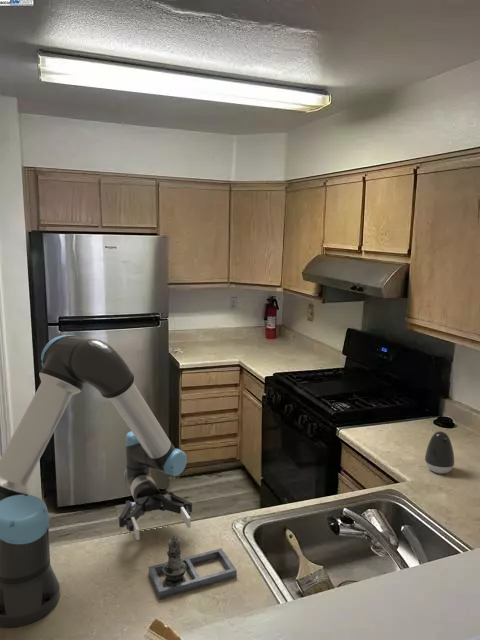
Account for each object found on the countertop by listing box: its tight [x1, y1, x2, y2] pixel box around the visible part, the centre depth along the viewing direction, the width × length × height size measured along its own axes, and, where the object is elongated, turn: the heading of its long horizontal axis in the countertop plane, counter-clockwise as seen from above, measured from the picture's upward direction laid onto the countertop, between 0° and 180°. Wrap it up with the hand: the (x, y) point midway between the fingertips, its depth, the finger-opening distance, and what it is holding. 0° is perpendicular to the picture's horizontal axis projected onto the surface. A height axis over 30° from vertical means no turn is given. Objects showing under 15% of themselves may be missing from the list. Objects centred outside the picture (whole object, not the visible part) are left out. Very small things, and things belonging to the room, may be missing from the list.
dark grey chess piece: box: [162, 534, 187, 587], centre depth 117 cm, size 6×6×12 cm
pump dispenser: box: [424, 430, 456, 474], centre depth 180 cm, size 10×10×15 cm
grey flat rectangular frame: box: [148, 547, 238, 601], centre depth 119 cm, size 20×10×2 cm, turn 114°
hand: (164, 528), depth 125 cm, fingers open, 13 cm apart
